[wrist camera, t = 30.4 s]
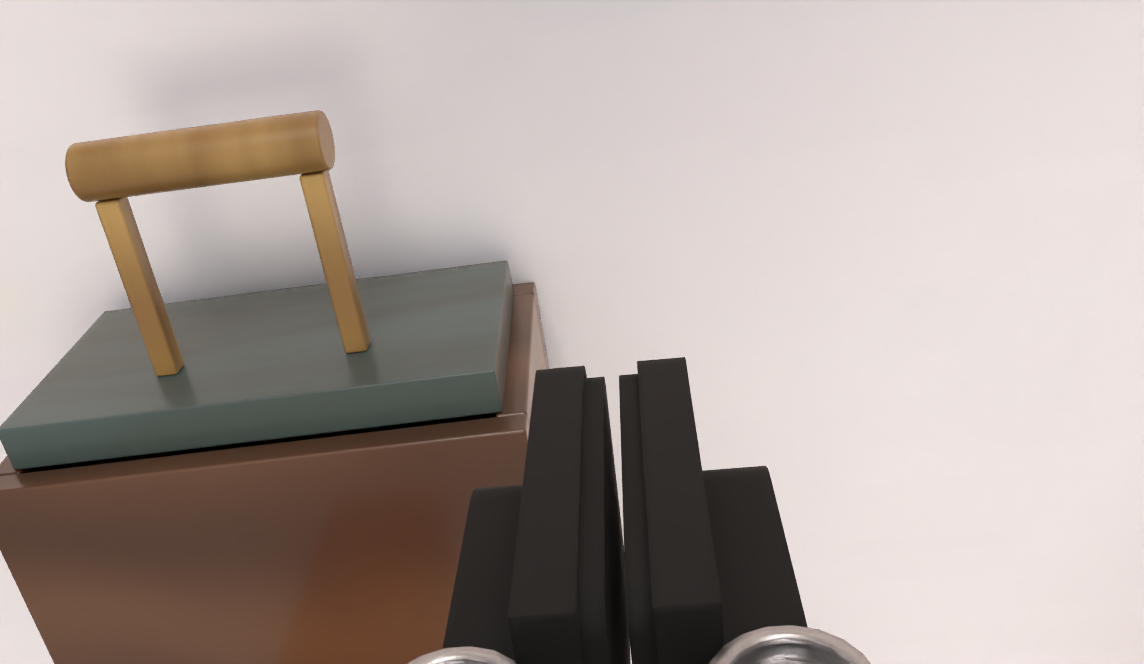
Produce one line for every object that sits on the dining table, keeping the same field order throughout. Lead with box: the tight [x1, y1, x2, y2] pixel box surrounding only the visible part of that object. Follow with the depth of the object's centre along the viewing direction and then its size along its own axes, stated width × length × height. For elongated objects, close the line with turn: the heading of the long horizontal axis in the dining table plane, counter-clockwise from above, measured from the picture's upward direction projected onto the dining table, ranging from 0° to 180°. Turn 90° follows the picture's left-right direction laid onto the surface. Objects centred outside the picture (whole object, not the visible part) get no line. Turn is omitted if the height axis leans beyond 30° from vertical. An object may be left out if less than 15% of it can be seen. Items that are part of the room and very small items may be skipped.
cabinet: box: [0, 283, 549, 664], centre depth 32 cm, size 17×14×9 cm
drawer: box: [0, 110, 514, 470], centre depth 30 cm, size 22×12×7 cm, turn 8°
